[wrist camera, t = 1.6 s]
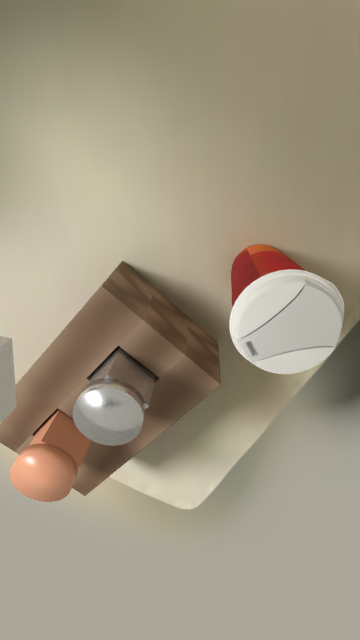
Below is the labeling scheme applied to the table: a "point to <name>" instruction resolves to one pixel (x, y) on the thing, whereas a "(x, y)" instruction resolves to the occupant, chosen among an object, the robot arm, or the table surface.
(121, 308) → the button console
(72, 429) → the terracotta button
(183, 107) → the table surface
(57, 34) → the table surface
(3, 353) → the robot arm
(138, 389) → the grey button
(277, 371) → the paper cup
